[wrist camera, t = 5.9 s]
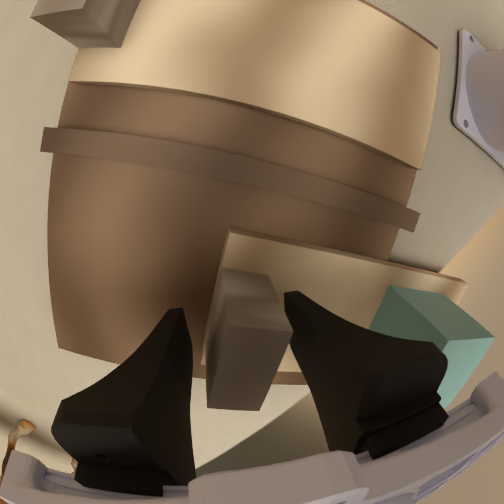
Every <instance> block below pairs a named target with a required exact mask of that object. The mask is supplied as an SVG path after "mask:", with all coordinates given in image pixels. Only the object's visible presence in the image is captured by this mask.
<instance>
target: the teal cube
mask: <svg viewBox="0 0 504 504" xmlns="http://www.w3.org/2000/svg"><path fill="white" fill-rule="evenodd" d="M369 330H372V331H375V332H378V333H381V334H385V335H389V336H393V337H398V338H403V339H409V340H418V341H428V342H433V343H434V344H435V345H436V346H437V347H438V348H439V349H440V350H441V351H442V352H443V353H444V354H445V355H446V357H447V359H448V368H447V371H446V374H445V376H444V378H443V380H442V382H441V384H440V386H439V388H438V390H437V393H438V394H439V395H440V396H441V401H440V402H439V403H440V405H441V406H442V407H443V408H445V407H447V406H448V405H449V404H450V403H451V401H452V400H453V399H454V398H455V396H456V395H457V394H458V392H459V391H460V390H461V388H462V387H463V385H464V384H465V383H466V382H467V380H468V379H469V377H470V376H471V374H472V373H473V371H474V370H475V369H476V367H477V366H478V364H479V362H480V361H481V359H482V358H483V356H484V355H485V353H486V351H487V350H488V348H489V347H490V345H491V343H492V341H493V340H494V338H495V337H494V336H493V335H492V334H491V333H490V332H489V331H487V330H486V329H485V328H484V327H483V326H482V325H480V324H479V323H478V322H477V321H476V320H474V319H473V318H472V317H471V316H469V314H467V313H466V312H465V311H464V310H462V309H461V308H460V307H459V306H457V305H456V304H455V303H454V302H452V301H451V300H450V299H449V298H447V297H446V296H445V295H444V294H440V293H434V292H428V291H422V290H416V289H410V288H404V287H398V286H392V285H389V286H388V288H387V290H386V293H385V295H384V297H383V299H382V302H381V304H380V306H379V308H378V310H377V312H376V314H375V316H374V318H373V321H372V323H371V325H370V327H369Z"/></svg>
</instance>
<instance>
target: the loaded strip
mask: <svg viewBox="0 0 504 504" xmlns="http://www.w3.org/2000/svg"><path fill="white" fill-rule="evenodd" d="M389 285H392V286H398V287H404V288H410V289H416V290H422V291H428V292H434V293H440V294H444V295H445V296H446V297H447V298H449V299H450V300H451V301H452V302H454V303H455V304H456V305H457V306H458V304H459V302H460V300H461V298H462V296H463V294H464V292H465V289H466V287H467V285H468V284H467V283H466V282H464V281H463V280H462V279H459V278H455V277H451V276H447V275H443V274H439V273H435V272H431V271H427V270H423V269H418V268H414V267H410V266H406V265H402V264H397V263H393V262H389V261H385V260H380V259H376V258H372V257H367V256H363V255H358V254H354V253H349V252H345V251H340V250H336V249H331V248H327V247H322V246H318V245H313V244H309V243H304V242H299V241H295V240H290V239H285V238H280V237H276V236H271V235H266V234H261V233H256V232H251V231H247V230H242V229H237V228H232V227H228V231H227V235H226V239H225V243H224V248H223V252H222V256H221V261H220V265H219V270H218V274H217V278H216V283H215V287H214V292H213V297H212V301H211V306H210V310H209V315H208V320H207V325H206V329H205V334H204V339H203V344H202V349H201V354H200V364H202V365H206V393H207V408H215V409H228V410H246V411H259V410H260V408H261V406H262V404H263V402H264V399H265V397H266V395H267V393H268V391H269V388H270V386H271V384H272V382H273V379H274V377H275V375H276V373H277V371H283V372H302V371H301V369H300V367H299V365H298V363H297V361H296V359H295V357H294V354H293V352H292V350H291V347H290V344H289V342H290V339H291V337H292V334H293V329H292V327H291V325H290V323H289V320H288V318H287V316H286V314H285V309H284V293H285V292H291V291H297V290H298V291H300V292H301V293H303V294H304V295H306V296H307V297H309V298H310V299H311V300H313V301H314V302H316V303H317V304H319V305H321V306H322V307H324V308H325V309H327V310H329V311H330V312H332V313H334V314H336V315H337V316H339V317H341V318H343V319H345V320H347V321H349V322H351V323H354V324H356V325H358V326H361V327H363V328H366V329H369V327H370V325H371V323H372V321H373V318H374V316H375V314H376V312H377V310H378V308H379V306H380V304H381V302H382V299H383V297H384V295H385V293H386V290H387V288H388V286H389Z"/></svg>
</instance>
